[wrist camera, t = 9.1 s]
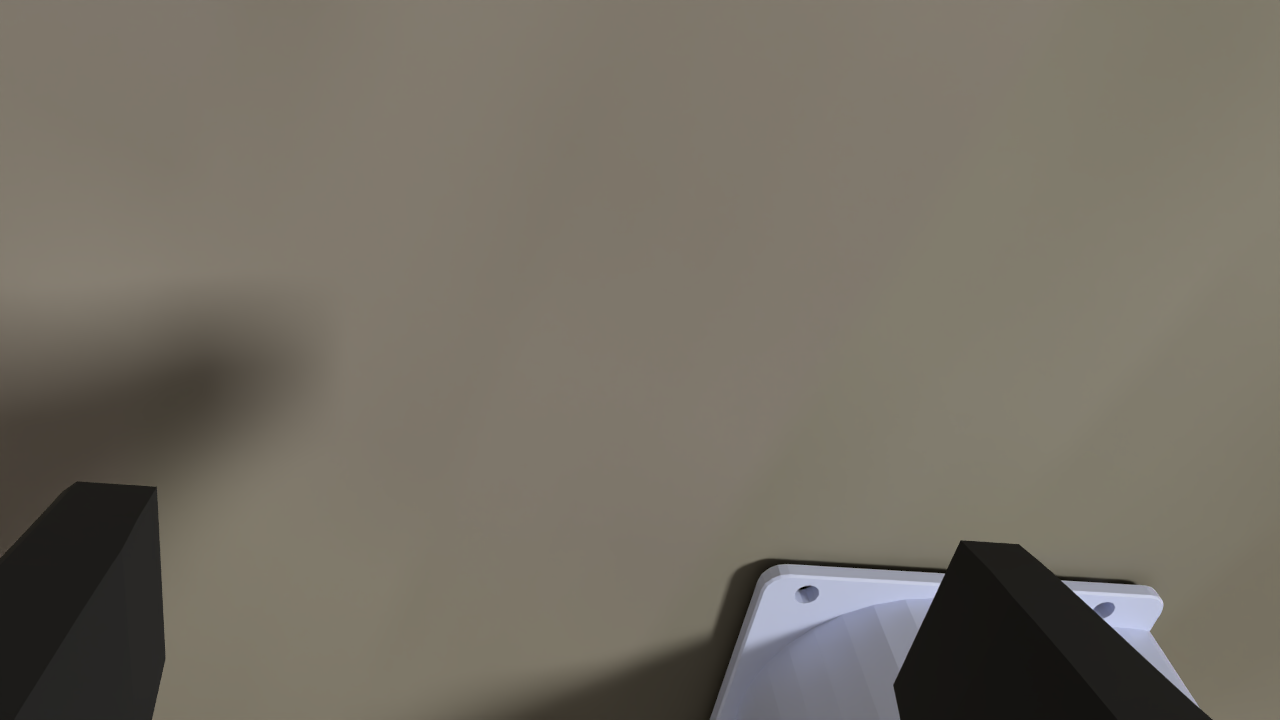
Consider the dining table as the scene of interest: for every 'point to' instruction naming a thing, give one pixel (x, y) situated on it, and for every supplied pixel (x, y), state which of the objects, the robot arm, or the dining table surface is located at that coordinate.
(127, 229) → the dining table surface
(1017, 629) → the robot arm
